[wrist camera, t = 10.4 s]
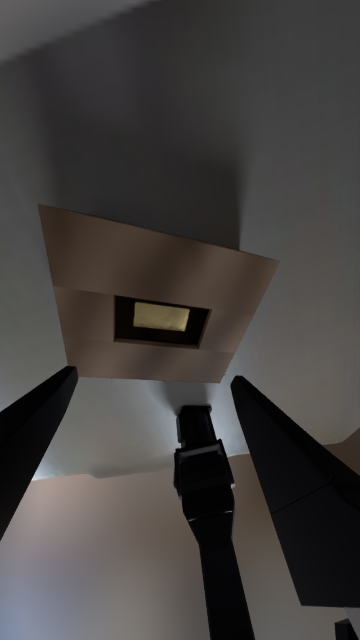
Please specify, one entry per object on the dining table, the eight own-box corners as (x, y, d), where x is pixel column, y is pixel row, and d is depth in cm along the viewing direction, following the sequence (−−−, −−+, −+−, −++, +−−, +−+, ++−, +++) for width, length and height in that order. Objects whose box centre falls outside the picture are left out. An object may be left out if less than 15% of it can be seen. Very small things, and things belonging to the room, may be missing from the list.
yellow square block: (183, 291, 19) (189, 309, 15) (179, 309, 20) (184, 331, 16) (141, 284, 18) (135, 302, 14) (139, 304, 19) (133, 326, 15)
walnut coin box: (239, 250, 18) (280, 261, 12) (205, 345, 24) (219, 383, 18) (87, 214, 15) (37, 203, 9) (95, 334, 21) (70, 376, 15)
